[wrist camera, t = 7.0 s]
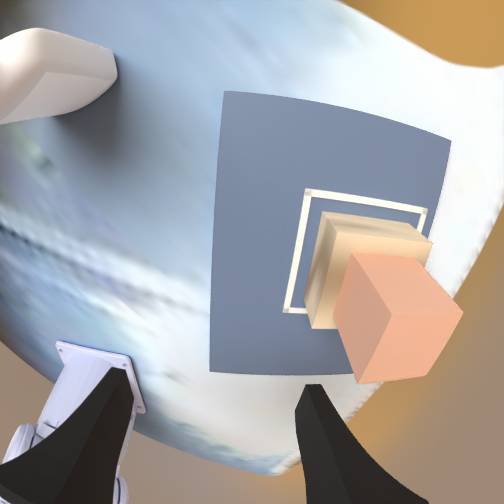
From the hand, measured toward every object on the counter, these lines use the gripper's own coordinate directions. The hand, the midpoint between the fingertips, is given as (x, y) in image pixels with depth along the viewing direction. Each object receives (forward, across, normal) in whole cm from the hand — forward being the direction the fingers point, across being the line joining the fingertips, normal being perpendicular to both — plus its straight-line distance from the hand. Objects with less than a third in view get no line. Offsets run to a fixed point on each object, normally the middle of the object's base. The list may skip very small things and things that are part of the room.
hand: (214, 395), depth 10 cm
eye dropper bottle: (+9, +10, -12) cm, 18 cm away
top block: (+5, -8, -2) cm, 10 cm away
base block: (+8, -8, -2) cm, 12 cm away
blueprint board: (+9, -6, -1) cm, 11 cm away
